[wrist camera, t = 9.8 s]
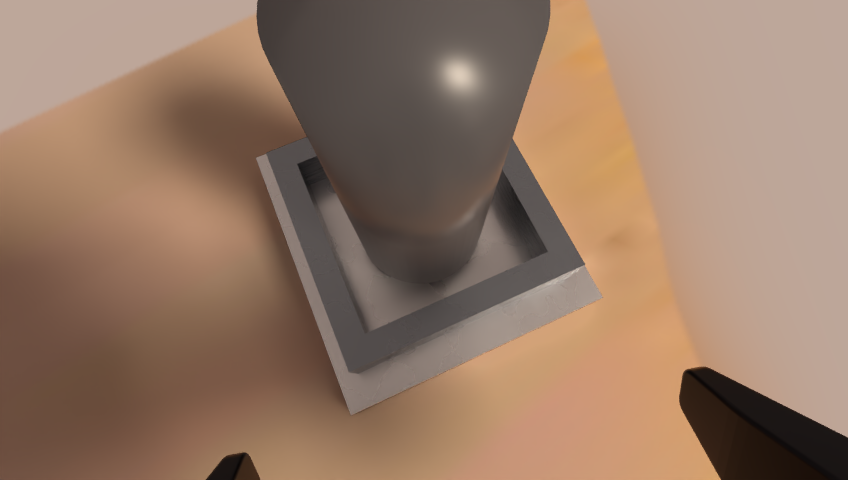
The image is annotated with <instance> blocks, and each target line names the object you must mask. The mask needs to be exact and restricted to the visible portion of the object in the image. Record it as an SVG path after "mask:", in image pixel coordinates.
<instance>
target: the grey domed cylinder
mask: <svg viewBox="0 0 848 480" xmlns="http://www.w3.org/2000/svg"><path fill="white" fill-rule="evenodd" d="M549 19H550V0H258V2H257V26H258V33H259V37H260V41H261V44H262V48H263V50H264V52H265V54H266V56H267V59H268V61H269V63H270V65H271V67H272V69H273V71H274V73H275V75H276V77H277V79H278V81H279V82H280V84H281V86H282V88H283V90H284V92H285V94H286V96H287V98H288V100H289V102H290V104H291V106H292V108H293V110H294V112H295V114H296V116H297V118H298V120H299V122H300V124H301V126H302V128H303V130H304V132H305V133H306V135H307V137H308V139H309V141H310V143H311V145H312V147H313V149H314V151H315V153H316V155H317V157H318V159H319V161H320V163H321V165H322V167H323V169H324V171H325V173H326V175H327V177H328V179H329V181H330V183H331V185H332V186H333V188H334V190H335V192H336V194H337V196H338V198H339V200H340V202H341V204H342V206H343V208H344V210H345V212H346V214H347V216H348V218H349V220H350V222H351V224H352V226H353V228H354V230H355V232H356V234H357V236H358V237H359V239H360V241H361V243H362V245H363V247H364V249H365V251H366V253H367V255H368V256H369V258H370V259H371V261H372V262H373V263H374V264H375V265H376V266H377V267H378V268H379V269H380V270H381V271H383V272H384V273H386V274H387V275H389V276H391V277H393V278H395V279H398V280H400V281H403V282H409V283H418V284H421V283H431V282H436V281H439V280H442V279H444V278H447V277H449V276H451V275H452V274H454V273H455V272H457V271H458V270H459V269H461V268H462V267H463V266H464V265H465V264H466V263H467V261H468V260H469V259H470V258H471V256H472V254H473V253H474V251H475V249H476V247H477V244H478V241H479V238H480V235H481V232H482V229H483V226H484V223H485V220H486V217H487V213H488V210H489V207H490V204H491V201H492V198H493V195H494V192H495V189H496V186H497V183H498V180H499V177H500V174H501V171H502V168H503V165H504V162H505V159H506V156H507V153H508V150H509V147H510V144H511V141H512V138H513V135H514V132H515V128H516V125H517V122H518V119H519V116H520V113H521V110H522V107H523V104H524V101H525V98H526V95H527V92H528V89H529V86H530V83H531V80H532V77H533V74H534V71H535V68H536V65H537V62H538V59H539V56H540V53H541V50H542V47H543V43H544V40H545V37H546V34H547V31H548V26H549Z"/></svg>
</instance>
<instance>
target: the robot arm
mask: <svg viewBox="0 0 848 480" xmlns="http://www.w3.org/2000/svg"><path fill="white" fill-rule="evenodd" d="M679 402H680V406H681V409H682V411H683V413H684V414H685V416H686V418H687V420H688V422H689V423H690V425H691V427H692V429H693V431H694V432H695V434H696V436H697V438H698V440H699V441H700V443H701V445H702V447H703V449H704V450H705V452H706V454H707V456H708V458H709V459H710V461H711V463H712V465H713V466H714V468H715V470H716V472H717V473H718V475H719V477H720V479H721V480H848V438H847V437H846V436H843V435H842V434H840V433H837V432H835V431H833V430H832V429H830V428H828V427H826V426H824V425H821V424H820V423H818V422H816V421H814V420H812V419H810V418H808V417H806V416H803V415H802V414H800V413H798V412H796V411H794V410H792V409H790V408H788V407H786V406H783V405H782V404H780V403H777V402H776V401H774V400H772V399H770V398H768V397H766V396H764V395H762V394H760V393H758V392H756V391H754V390H752V389H750V388H748V387H746V386H744V385H742V384H740V383H738V382H736V381H734V380H732V379H730V378H728V377H726V376H724V375H722V374H720V373H718V372H716V371H714V370H712V369H710V368H708V367H697V368H691V369H687V370H685V371H684V373H683V376H682V383H681V389H680V395H679ZM206 480H260V478H259V475H258V473H257V471H256V469H255V467H254V464H253V462H252V460H251V458H250V456H249V454H247V453H244V452H243V453H237V454H232V455H228V456H226V457H225V458H223V459H222V460H221V462H220V463H219V464H218V465H217V467H216V468H215V469H214V470H213V472H212V473H211V474H210V475H209V476H208V478H207V479H206Z"/></svg>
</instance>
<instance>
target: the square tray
mask: <svg viewBox="0 0 848 480" xmlns="http://www.w3.org/2000/svg"><path fill="white" fill-rule="evenodd" d="M256 160H257V162H258V165H259V168H260V171H261V173H262V176H263V179H264V181H265V184H266V187H267V189H268V192H269V195H270V198H271V200H272V203H273V206H274V208H275V211H276V214H277V217H278V219H279V222H280V225H281V227H282V230H283V233H284V236H285V238H286V241H287V244H288V246H289V249H290V252H291V255H292V257H293V260H294V263H295V265H296V268H297V271H298V274H299V276H300V279H301V282H302V284H303V287H304V290H305V293H306V295H307V298H308V301H309V303H310V306H311V309H312V311H313V314H314V317H315V320H316V322H317V325H318V328H319V330H320V333H321V336H322V339H323V341H324V344H325V347H326V349H327V352H328V355H329V358H330V360H331V363H332V366H333V368H334V371H335V374H336V377H337V379H338V382H339V385H340V387H341V390H342V393H343V396H344V398H345V401H346V404H347V406H348V409H349V412H350V415H353V414H356V413H358V412H360V411H362V410H364V409H367V408H369V407H371V406H373V405H375V404H377V403H379V402H382V401H384V400H386V399H388V398H390V397H392V396H394V395H397V394H399V393H401V392H403V391H405V390H407V389H409V388H411V387H414V386H416V385H418V384H420V383H422V382H424V381H426V380H429V379H431V378H433V377H435V376H437V375H439V374H441V373H444V372H446V371H448V370H450V369H452V368H454V367H456V366H459V365H461V364H463V363H465V362H467V361H469V360H471V359H474V358H476V357H478V356H480V355H482V354H484V353H486V352H489V351H491V350H493V349H495V348H497V347H499V346H501V345H503V344H506V343H508V342H510V341H512V340H514V339H516V338H518V337H521V336H523V335H525V334H527V333H529V332H531V331H533V330H536V329H538V328H540V327H542V326H544V325H546V324H548V323H551V322H553V321H555V320H557V319H559V318H561V317H563V316H566V315H568V314H570V313H572V312H574V311H576V310H578V309H581V308H583V307H585V306H587V305H589V304H591V303H593V302H595V301H597V300H599V299H601V298H603V297H602V295H601V293H600V292H599V290H598V288H597V286H596V285H595V283H594V281H593V279H592V278H591V276H590V274H589V272H588V271H587V269H586V267H585V263H584V262H583V260H582V258H581V256H580V255H579V253H578V251H577V250H576V248H575V246H574V244H573V243H572V241H571V239H570V237H569V236H568V234H567V232H566V231H565V229H564V227H563V225H562V224H561V222H560V220H559V218H558V217H557V215H556V213H555V211H554V210H553V208H552V206H551V205H550V203H549V201H548V199H547V198H546V196H545V194H544V192H543V191H542V189H541V187H540V185H539V184H538V182H537V180H536V179H535V177H534V175H533V173H532V172H531V170H530V168H529V166H528V165H527V163H526V161H525V159H524V158H523V156H522V154H521V153H520V151H519V149H518V147H517V146H516V144H515V142H514V140H513V139H512V141H511V144H510V147H509V150H508V153H507V156H506V159H505V162H504V165H503V168H502V171H501V174H500V177H499V180H498V183H497V186H496V189H495V192H494V195H493V198H492V201H491V204H490V207H489V210H488V213H487V217H486V220H485V223H484V226H483V229H482V232H481V235H480V238H479V241H478V244H477V247H476V249H475V251H474V253H473V254H472V256H471V258H470V259H469V260H468V261H467V263H466V264H465V265H464V266H463V267H462V268H461V269H459V270H458V271H457V272H455V273H454V274H452V275H451V276H449V277H447V278H444V279H442V280H439V281H436V282H431V283H421V284H418V283H409V282H403V281H400V280H398V279H395V278H393V277H391V276H389V275H387V274H386V273H384V272H383V271H381V270H380V269H379V268H378V267H377V266H376V265H375V264H374V263H373V262H372V261H371V259H370V258H369V256H368V255H367V253H366V251H365V249H364V247H363V245H362V243H361V241H360V239H359V237H358V236H357V234H356V232H355V230H354V228H353V226H352V224H351V222H350V220H349V218H348V216H347V214H346V212H345V210H344V208H343V206H342V204H341V202H340V200H339V198H338V196H337V194H336V192H335V190H334V188H333V186H332V185H331V183H330V181H329V179H328V177H327V175H326V173H325V171H324V169H323V167H322V165H321V163H320V161H319V159H318V157H317V155H316V153H315V151H314V149H313V147H312V145H311V143H310V141H309V139H308V137H305V138H303V139H300V140H298V141H295V142H293V143H290V144H288V145H285V146H282V147H280V148H277V149H275V150H272V151H270V152H267V153H266V154H264V155H262V156H259V157H257V158H256Z"/></svg>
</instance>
